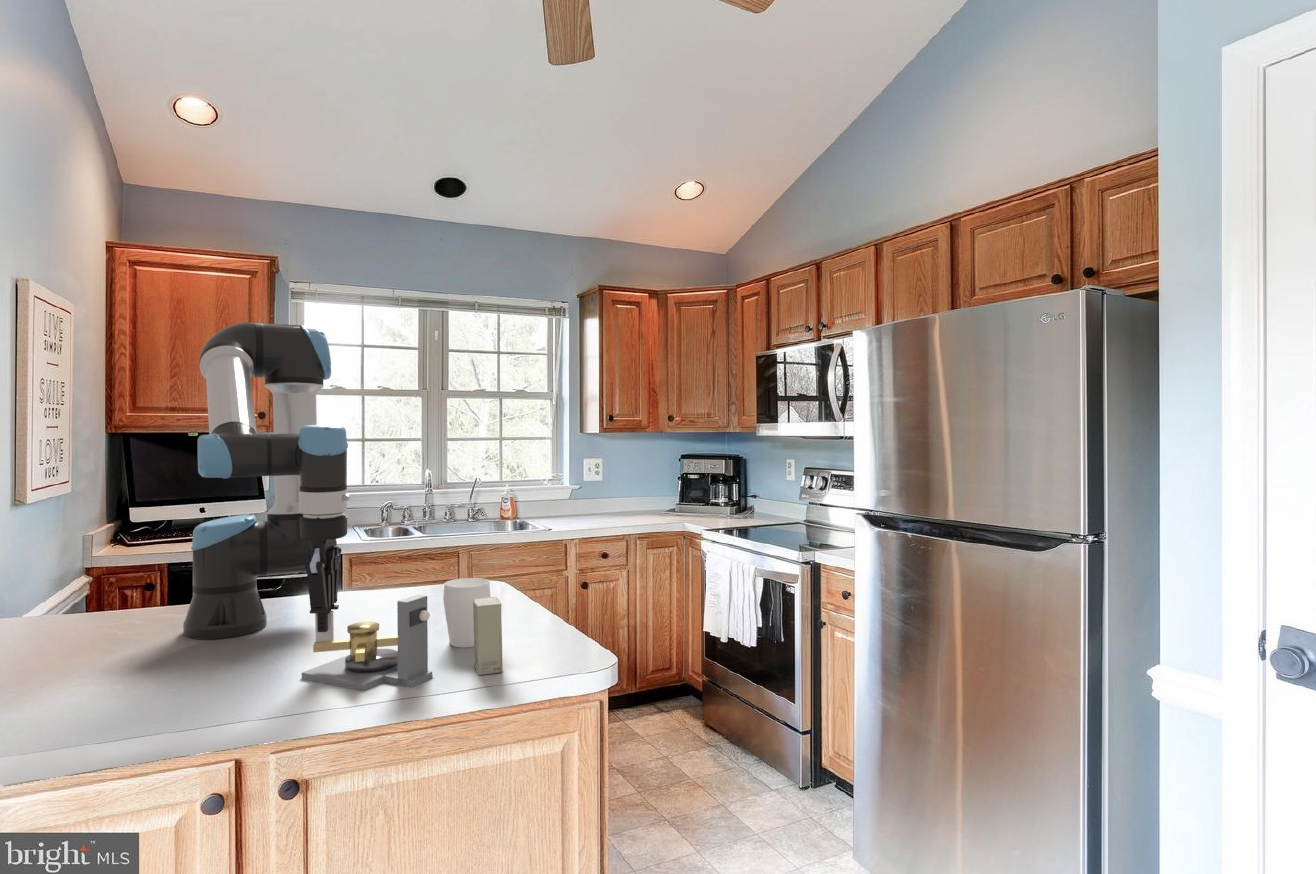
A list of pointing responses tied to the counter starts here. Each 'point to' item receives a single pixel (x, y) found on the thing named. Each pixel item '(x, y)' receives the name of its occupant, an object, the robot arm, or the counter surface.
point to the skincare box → (487, 635)
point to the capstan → (364, 648)
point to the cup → (463, 608)
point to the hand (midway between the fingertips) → (324, 648)
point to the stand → (409, 654)
